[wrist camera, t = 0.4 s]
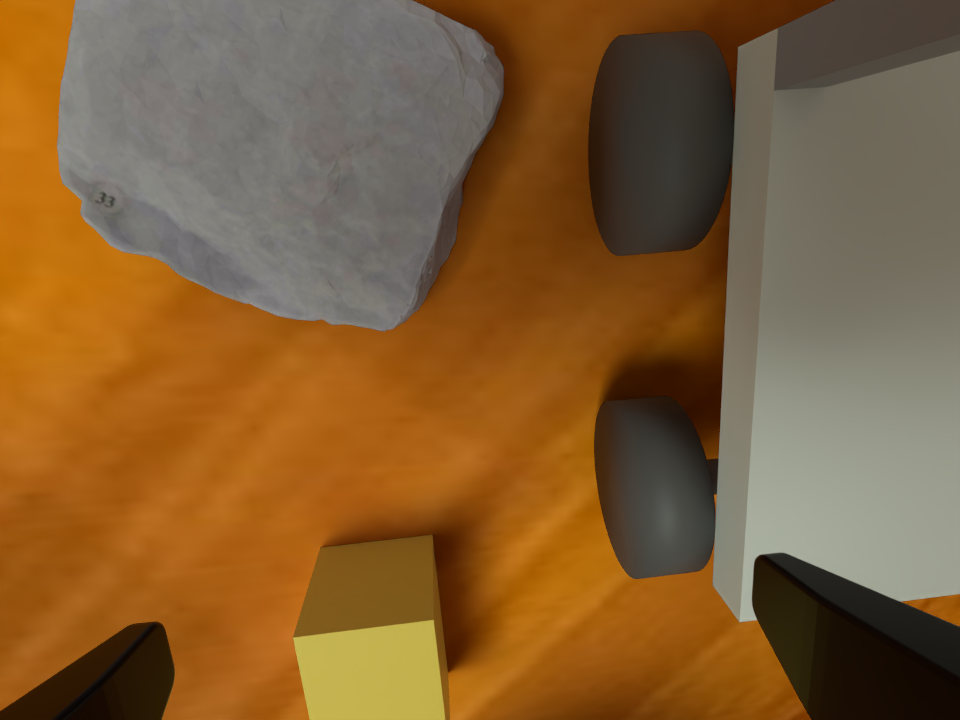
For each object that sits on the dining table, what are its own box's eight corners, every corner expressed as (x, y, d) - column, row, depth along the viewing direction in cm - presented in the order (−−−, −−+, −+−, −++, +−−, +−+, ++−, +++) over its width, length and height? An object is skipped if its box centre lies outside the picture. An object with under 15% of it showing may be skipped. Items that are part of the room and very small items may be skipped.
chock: (447, 670, 25) (452, 781, 21) (345, 684, 25) (326, 799, 20) (432, 533, 23) (433, 619, 19) (320, 546, 23) (292, 637, 18)
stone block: (430, 317, 23) (518, 46, 18) (416, 373, 18) (527, 36, 14) (123, 220, 21) (142, -101, 17) (30, 256, 17) (24, -161, 13)
